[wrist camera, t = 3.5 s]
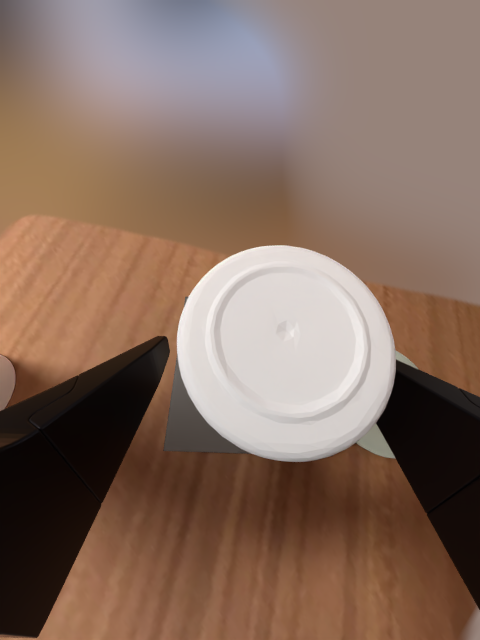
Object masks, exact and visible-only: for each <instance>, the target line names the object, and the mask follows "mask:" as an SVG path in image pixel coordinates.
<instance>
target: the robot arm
mask: <svg viewBox="0 0 480 640" xmlns="http://www.w3.org/2000/svg"><path fill="white" fill-rule="evenodd" d="M169 353H170V349H169V344H168V339H167V337H166V336H157V337H155V338H153V339H151V340H149V341H146V342H144V343H142V344H140V345H138V346H136V347H134V348H132V349H130V350H128V351H126V352H124V353H122V354H120V355H118V356H116V357H114V358H112V359H110V360H108V361H106V362H104V363H102V364H100V365H98V366H96V367H94V368H92V369H90V370H88V371H85V372H83V373H81V374H80V375H79V376H75V377H73V378H71V379H69V380H67V381H65V382H63V383H61V384H59V385H57V386H55V387H52V388H50V389H48V390H46V391H44V392H42V393H39V394H37V395H35V396H33V397H31V398H28V399H26V400H24V401H22V402H19V403H17V404H15V405H13V406H10V407H8V408H6V409H3V410H1V411H0V637H13V638H37V637H38V636H39V634H40V632H41V630H42V628H43V626H44V624H45V622H46V620H47V618H48V616H49V614H50V612H51V610H52V608H53V606H54V604H55V602H56V600H57V597H58V595H59V593H60V591H61V589H62V587H63V585H64V583H65V581H66V579H67V576H68V574H69V572H70V570H71V568H72V566H73V564H74V562H75V560H76V558H77V555H78V553H79V551H80V549H81V547H82V545H83V543H84V541H85V539H86V537H87V534H88V532H89V530H90V528H91V526H92V524H93V522H94V520H95V518H96V516H97V513H98V511H99V509H100V507H101V503H102V502H103V500H104V498H105V496H106V494H107V492H108V490H109V488H110V486H111V484H112V482H113V479H114V477H115V475H116V473H117V471H118V469H119V467H120V465H121V463H122V461H123V458H124V456H125V454H126V452H127V450H128V448H129V446H130V444H131V442H132V440H133V437H134V435H135V433H136V431H137V429H138V427H139V425H140V423H141V421H142V419H143V416H144V414H145V412H146V410H147V408H148V406H149V404H150V402H151V400H152V398H153V395H154V393H155V391H156V389H157V387H158V385H159V383H160V380H161V377H162V374H163V372H164V369H165V366H166V363H167V360H168V357H169ZM376 424H377V426H378V428H379V429H380V431H381V433H382V435H383V437H384V438H385V440H386V442H387V444H388V446H389V447H390V449H391V451H392V453H393V455H394V456H395V458H396V460H397V462H398V464H399V465H400V467H401V469H402V471H403V473H404V474H405V476H406V478H407V480H408V482H409V483H410V485H411V487H412V489H413V491H414V492H415V494H416V496H417V498H418V500H419V501H420V503H421V505H422V507H423V509H424V510H425V512H426V513H427V516H428V518H429V520H430V521H431V523H432V525H433V527H434V529H435V530H436V532H437V534H438V536H439V538H440V539H441V541H442V543H443V545H444V547H445V548H446V550H447V552H448V554H449V556H450V558H451V559H452V561H453V563H454V565H455V567H456V568H457V570H458V572H459V574H460V576H461V577H462V579H463V581H464V583H465V585H466V586H467V588H468V590H469V592H470V594H471V595H472V597H473V599H474V601H475V603H476V604H477V606H478V608H479V610H480V397H478V396H476V395H474V394H471V393H469V392H467V391H465V390H463V389H460V388H457V387H456V386H454V385H452V384H449V383H447V382H445V381H443V380H441V379H438V378H436V377H434V376H432V375H429V374H427V373H425V372H423V371H421V370H418V369H416V368H414V367H412V366H410V365H407V364H405V363H403V362H401V361H399V360H396V372H395V379H394V385H393V388H392V391H391V395H390V397H389V400H388V403H387V405H386V408H385V410H384V412H383V413H382V415H381V416H380V418H379V419H378V421H377V422H376Z"/></svg>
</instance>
